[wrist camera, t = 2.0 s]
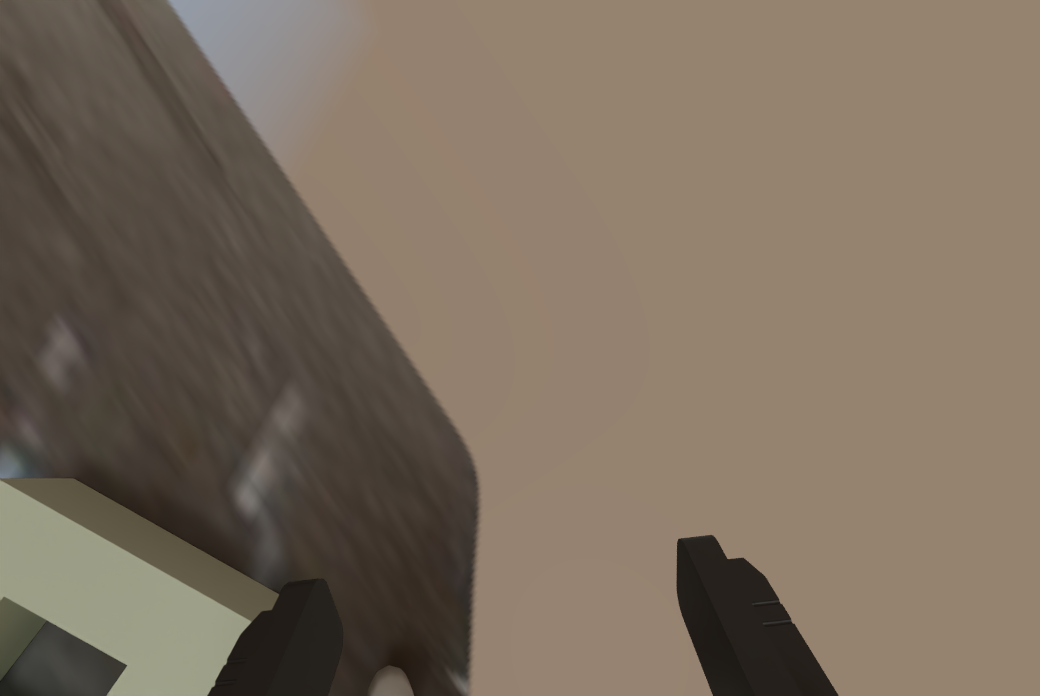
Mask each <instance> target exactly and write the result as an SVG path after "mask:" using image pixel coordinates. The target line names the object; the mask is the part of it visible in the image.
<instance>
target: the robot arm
mask: <svg viewBox="0 0 1040 696" xmlns="http://www.w3.org/2000/svg"><path fill="white" fill-rule="evenodd" d="M677 596H678V601H679V606H680V610H681V613H682V616H683V619H684V622H685V624H686V627H687V629H688V632H689V634H690V637H691V639H692V642H693V645H694V648H695V650H696V653H697V655H698V658H699V661H700V663H701V666H702V668H703V671H704V674H705V676H706V679H707V681H708V684H709V686H710V689H711V692H712V694H713V696H838V694H837V692H836V691H835V689H834V687H833V686H832V684H831V683H830V681H829V679H828V678H827V676H826V674H825V673H824V671H823V670H822V668H821V666H820V665H819V663H818V662H817V660H816V658H815V657H814V655H813V653H812V652H811V650H810V649H809V647H808V645H807V644H806V642H805V640H804V639H803V637H802V636H801V634H800V633H799V631H798V629H797V627H796V626H795V624H793V623H792V622H791V618H790V616H789V614H788V613H787V611H786V610H785V608H784V607H783V605H782V604H780V602H779V598H778V597H777V595H776V594H775V592H774V590H773V589H772V587H771V585H770V584H769V582H768V580H767V579H766V577H765V576H764V575H763V574H762V573H760V572H759V571H758V570H757V569H756V568H755V567H753V566H752V565H751V564H750V563H749V562H748V561H747V560H745V559H744V558H736V559H727V557H726V556H725V554H724V552H723V550H722V548H721V547H720V545H719V543H718V541H717V540H716V538H715V537H714V536H712V535H707V536H699V537H690V538H681V539H678V542H677ZM342 646H343V627H342V623H341V620H340V617H339V615H338V612H337V609H336V607H335V604H334V601H333V598H332V596H331V593H330V590H329V587H328V585H327V582H326V581H325V580H324V579H322V578H321V579H312V580H303V581H295V582H288V583H287V584H286V585H285V586H284V587H283V589H282V590H281V592H280V594H279V596H278V598H277V600H276V602H275V604H274V606H273V608H272V610H267V611H261V612H260V614H259V615H258V616H257V617H256V618H255V619H254V620H253V621H252V622H251V623H250V624H249V625H248V627H247V628H246V629H245V630H244V631H243V632H242V633H241V634H240V636H239V638H238V640H237V642H236V643H235V645H234V647H233V649H232V651H231V653H230V655H229V656H228V658H227V663H226V665H224V666H223V668H222V669H221V671H220V673H219V675H218V677H217V679H216V680H215V686H214V687H212V688H211V690H210V692H209V693H208V695H207V696H328V693H329V690H330V687H331V684H332V681H333V678H334V675H335V672H336V668H337V665H338V662H339V659H340V656H341V652H342Z"/></svg>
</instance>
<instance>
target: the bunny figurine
mask: <svg viewBox="0 0 1040 696" xmlns="http://www.w3.org/2000/svg"><path fill="white" fill-rule="evenodd" d="M367 696H414V694H413V691H412V688H411V685H410V682H409V680H408V678H407V676H406V674H405V673H404V672H403V671H402V670H401V669H400V668H398V667H393V666H389V665H388V666H386V667H384V668H382V669H380V670H378V671H377V672H376V674H375V676H374V677H373V679H372V681H371V683H370V685H369V690H368V695H367Z"/></svg>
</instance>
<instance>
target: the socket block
mask: <svg viewBox="0 0 1040 696" xmlns="http://www.w3.org/2000/svg"><path fill="white" fill-rule="evenodd" d="M278 596H279V594H278V593H276V592H274V591H272V590H271V589H269V588H267V587H265V586H263V585H262V584H260V583H258V582H256V581H255V580H253V579H251V578H249V577H248V576H246V575H244V574H242V573H240V572H239V571H237V570H235V569H233V568H232V567H230V566H228V565H226V564H224V563H223V562H221V561H219V560H217V559H216V558H214V557H212V556H210V555H209V554H207V553H205V552H203V551H201V550H200V549H198V548H196V547H194V546H193V545H191V544H189V543H187V542H185V541H184V540H182V539H180V538H178V537H177V536H175V535H173V534H171V533H170V532H168V531H166V530H164V529H162V528H161V527H159V526H157V525H155V524H154V523H152V522H150V521H148V520H146V519H145V518H143V517H141V516H139V515H138V514H136V513H134V512H132V511H131V510H129V509H127V508H125V507H123V506H122V505H120V504H118V503H116V502H115V501H113V500H111V499H109V498H107V497H106V496H104V495H102V494H100V493H99V492H97V491H95V490H93V489H92V488H90V487H88V486H86V485H84V484H83V483H81V482H79V481H77V480H76V479H74V478H10V479H0V681H1V680H2V678H3V677H4V676H5V674H6V673H7V672H8V671H9V669H10V668H11V667H12V665H13V664H14V663H15V661H16V660H17V659H18V658H19V656H20V655H21V654H22V652H23V651H24V650H25V649H26V647H27V646H28V645H29V643H30V642H31V641H32V639H33V638H34V637H35V636H36V634H37V633H38V632H39V630H40V629H41V628H42V626H43V625H44V624H45V623H46V621H49V622H51V623H53V624H54V625H56V626H58V627H60V628H62V629H63V630H65V631H67V632H69V633H71V634H72V635H74V636H76V637H78V638H79V639H81V640H83V641H85V642H87V643H88V644H90V645H92V646H94V647H96V648H97V649H99V650H101V651H103V652H104V653H106V654H108V655H110V656H112V657H113V658H115V659H117V660H119V661H121V662H122V663H124V664H126V665H128V666H127V667H126V669H125V670H124V671H123V673H122V674H121V676H120V677H119V679H118V680H117V681H116V683H115V684H114V686H113V687H112V689H111V690H110V691H109V693H108V694H107V696H207V695H208V693H209V692H210V690H211V688H212V687H214V686H215V680H216V679H217V677H218V675H219V673H220V671H221V669H222V668H223V666H224V665H226V663H227V658H228V656H229V655H230V653H231V651H232V649H233V647H234V645H235V643H236V642H237V640H238V638H239V636H240V634H241V633H242V632H243V631H244V630H245V629H246V628H247V627H248V625H249V624H250V623H251V622H252V621H253V620H254V619H255V618H256V617H257V616H258V615H259V614H260V612H261V611H267V610H272V608H273V606H274V604H275V602H276V600H277V598H278Z"/></svg>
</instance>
